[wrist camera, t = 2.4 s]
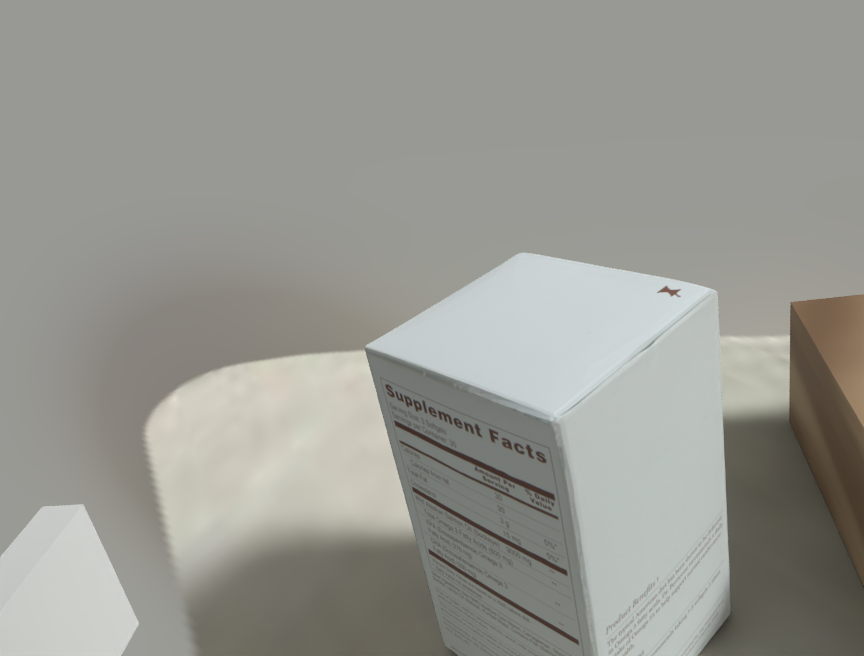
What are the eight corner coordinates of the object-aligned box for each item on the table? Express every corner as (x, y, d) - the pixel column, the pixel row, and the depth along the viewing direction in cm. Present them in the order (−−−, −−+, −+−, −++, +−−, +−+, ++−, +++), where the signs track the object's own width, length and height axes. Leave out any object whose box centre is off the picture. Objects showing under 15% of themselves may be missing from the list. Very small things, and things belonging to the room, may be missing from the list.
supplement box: (566, 531, 33) (523, 244, 27) (738, 616, 28) (729, 283, 22) (437, 649, 29) (355, 341, 23) (609, 775, 23) (557, 417, 18)
